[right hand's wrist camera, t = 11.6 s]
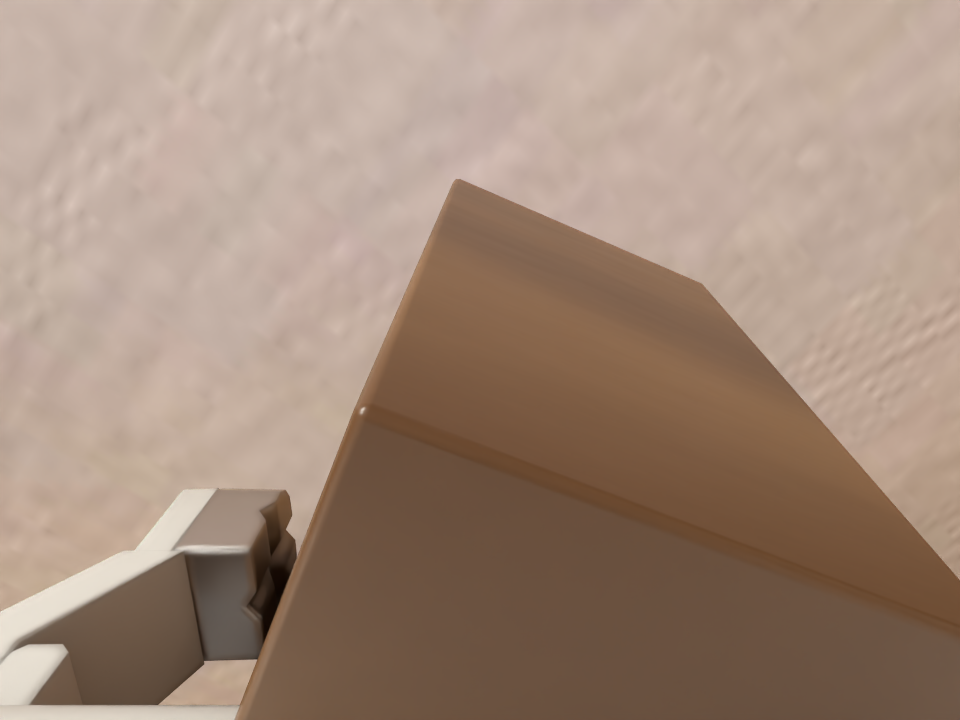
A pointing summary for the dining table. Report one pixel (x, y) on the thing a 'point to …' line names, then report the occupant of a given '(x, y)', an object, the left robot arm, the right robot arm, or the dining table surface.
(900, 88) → the dining table surface
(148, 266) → the dining table surface
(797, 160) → the dining table surface
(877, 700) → the bar
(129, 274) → the dining table surface
